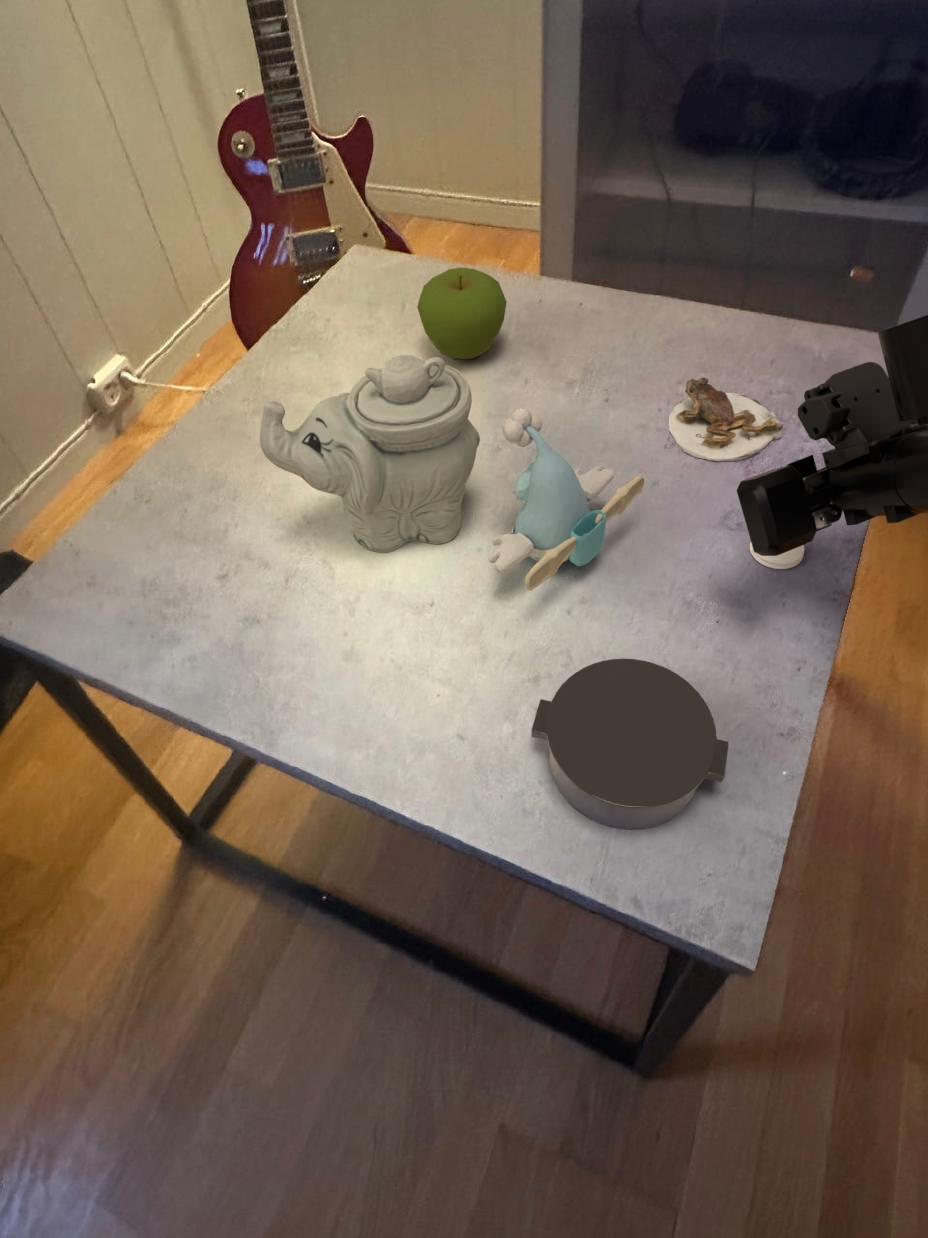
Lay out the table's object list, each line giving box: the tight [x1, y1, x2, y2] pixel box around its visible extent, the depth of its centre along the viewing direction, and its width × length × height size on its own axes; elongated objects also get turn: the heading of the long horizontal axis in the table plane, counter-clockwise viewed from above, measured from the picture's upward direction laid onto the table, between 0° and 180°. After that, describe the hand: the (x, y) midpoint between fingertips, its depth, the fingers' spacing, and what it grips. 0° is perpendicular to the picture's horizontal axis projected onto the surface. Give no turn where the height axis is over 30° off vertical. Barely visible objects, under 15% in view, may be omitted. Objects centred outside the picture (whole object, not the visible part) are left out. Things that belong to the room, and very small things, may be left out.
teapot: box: [259, 354, 481, 553], centre depth 71 cm, size 16×15×19 cm
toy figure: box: [488, 408, 645, 591], centre depth 69 cm, size 17×10×15 cm, turn 136°
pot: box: [530, 658, 729, 830], centre depth 59 cm, size 15×13×5 cm
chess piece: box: [749, 541, 805, 570], centre depth 69 cm, size 5×5×10 cm
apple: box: [416, 267, 507, 360], centre depth 92 cm, size 11×10×10 cm
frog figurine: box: [667, 377, 784, 462], centre depth 82 cm, size 12×12×4 cm
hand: (785, 490), depth 68 cm, fingers closed on chess piece
